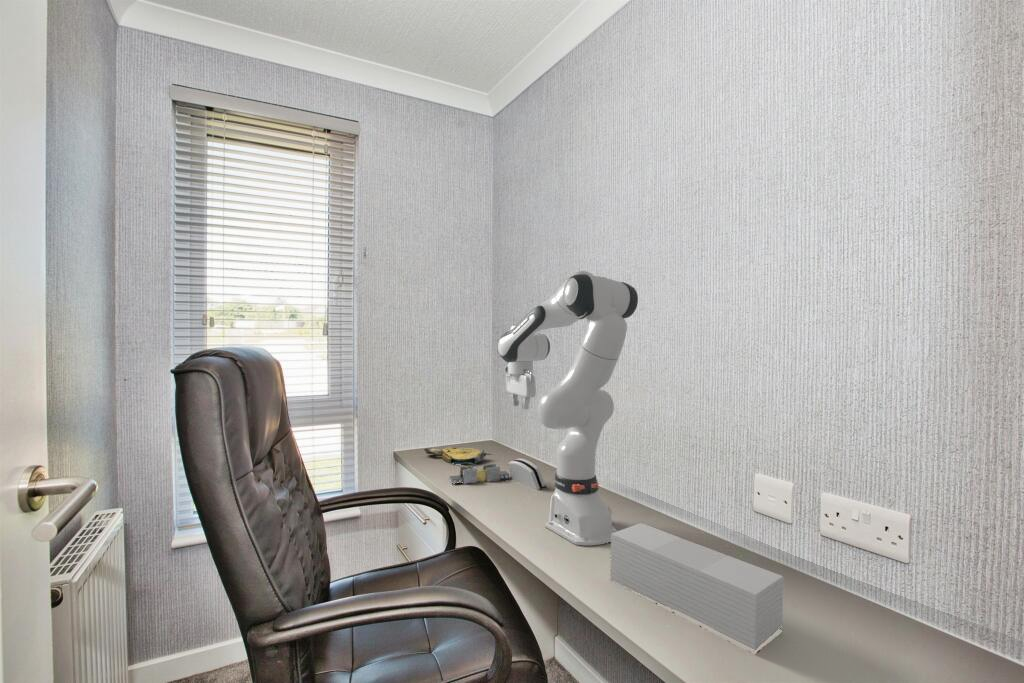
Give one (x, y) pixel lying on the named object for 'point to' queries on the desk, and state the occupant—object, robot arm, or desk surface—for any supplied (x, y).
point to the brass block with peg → (481, 475)
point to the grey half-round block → (526, 473)
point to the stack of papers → (699, 583)
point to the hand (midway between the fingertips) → (520, 407)
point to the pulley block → (459, 455)
